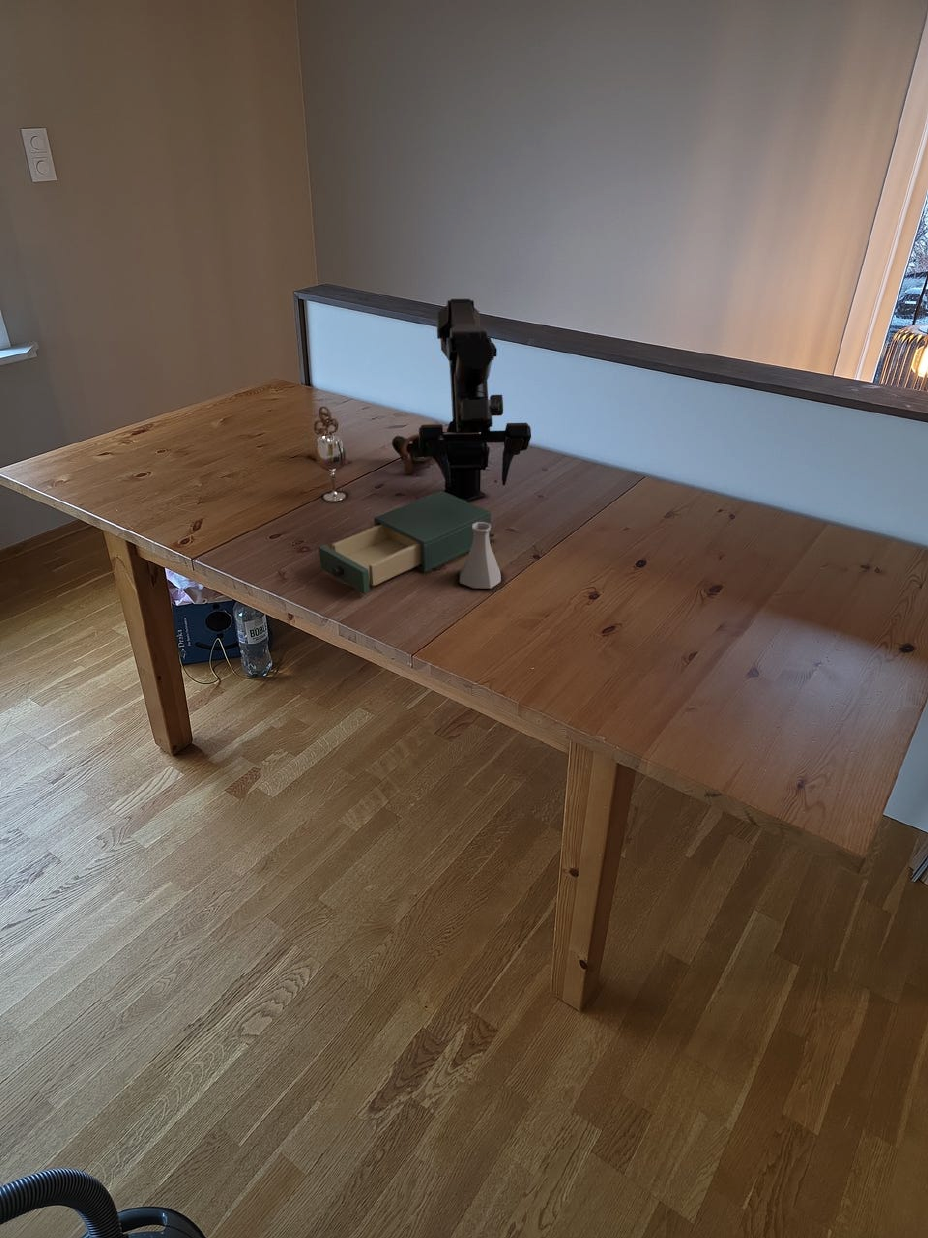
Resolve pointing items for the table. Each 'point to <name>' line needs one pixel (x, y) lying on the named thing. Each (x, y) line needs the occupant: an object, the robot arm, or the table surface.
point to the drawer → (370, 557)
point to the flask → (480, 560)
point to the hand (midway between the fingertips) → (476, 485)
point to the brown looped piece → (326, 424)
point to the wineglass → (331, 461)
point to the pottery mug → (412, 453)
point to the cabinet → (437, 526)
